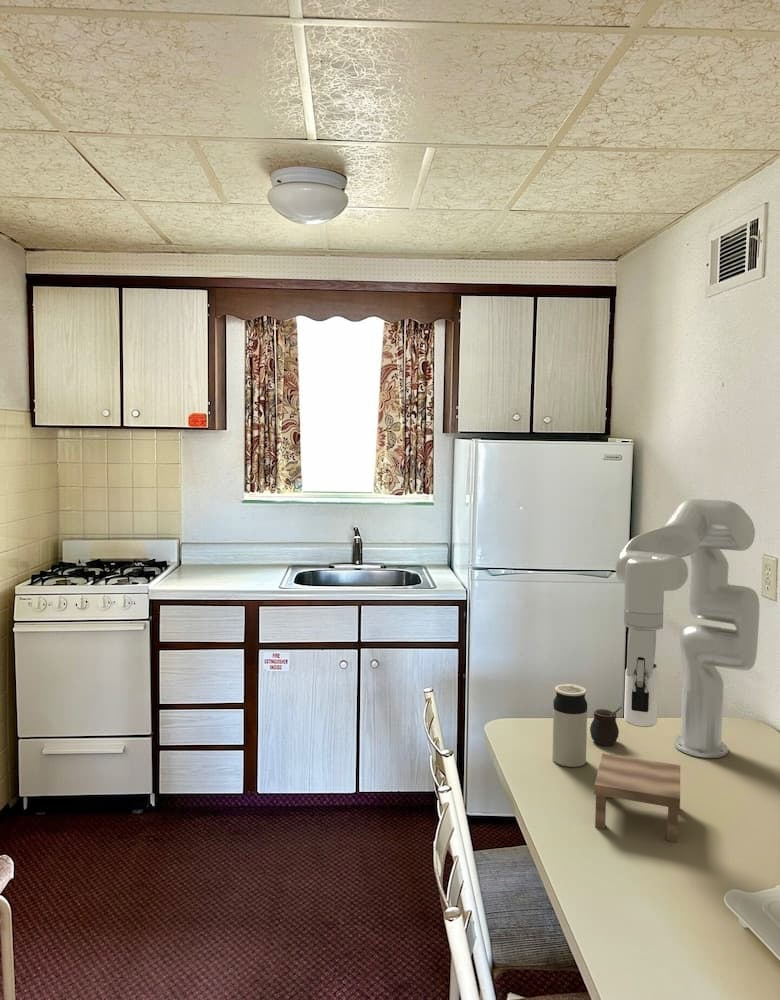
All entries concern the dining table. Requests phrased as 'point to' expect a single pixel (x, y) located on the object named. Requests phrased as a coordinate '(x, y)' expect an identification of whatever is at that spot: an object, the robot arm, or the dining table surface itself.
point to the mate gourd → (604, 727)
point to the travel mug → (569, 725)
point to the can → (651, 716)
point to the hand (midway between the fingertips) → (640, 704)
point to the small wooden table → (638, 786)
